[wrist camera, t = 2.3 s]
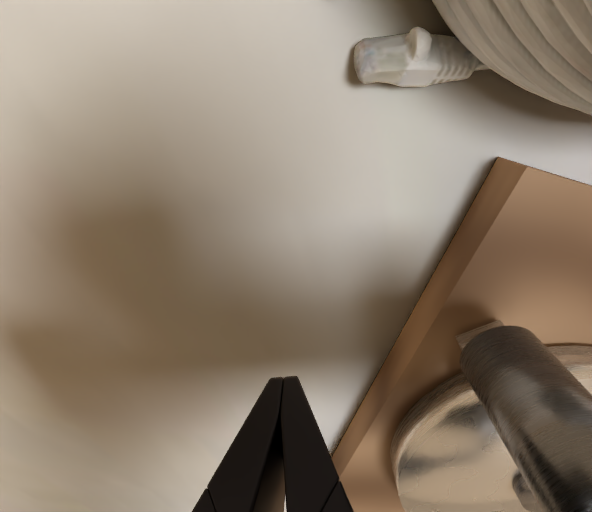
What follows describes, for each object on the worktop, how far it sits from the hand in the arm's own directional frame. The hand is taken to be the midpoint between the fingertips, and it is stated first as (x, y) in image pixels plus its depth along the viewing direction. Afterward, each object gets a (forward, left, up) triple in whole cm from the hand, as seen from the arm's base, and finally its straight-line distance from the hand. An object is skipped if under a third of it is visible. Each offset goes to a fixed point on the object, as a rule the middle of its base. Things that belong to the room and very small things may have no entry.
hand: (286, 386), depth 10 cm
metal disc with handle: (-2, -11, -2) cm, 11 cm away
